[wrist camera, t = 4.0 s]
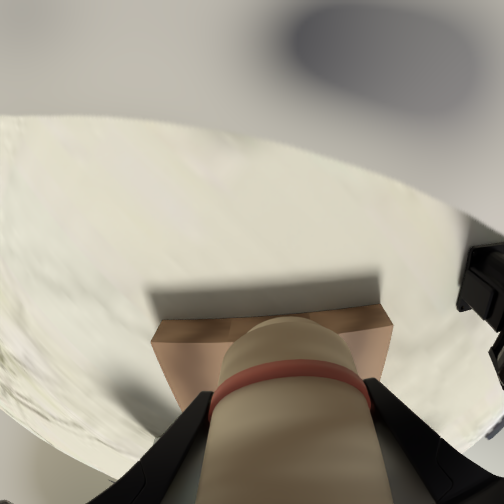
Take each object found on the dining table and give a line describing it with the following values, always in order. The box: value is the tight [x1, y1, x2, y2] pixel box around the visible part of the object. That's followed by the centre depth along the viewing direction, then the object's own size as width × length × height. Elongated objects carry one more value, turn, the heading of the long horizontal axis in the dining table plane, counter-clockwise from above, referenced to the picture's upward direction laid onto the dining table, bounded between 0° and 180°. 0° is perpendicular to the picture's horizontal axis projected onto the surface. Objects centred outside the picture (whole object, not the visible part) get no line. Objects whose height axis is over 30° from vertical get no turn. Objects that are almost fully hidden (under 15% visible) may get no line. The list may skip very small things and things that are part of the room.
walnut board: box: [151, 304, 394, 412], centre depth 22 cm, size 18×16×3 cm
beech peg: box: [195, 316, 393, 504], centre depth 6 cm, size 5×5×8 cm
